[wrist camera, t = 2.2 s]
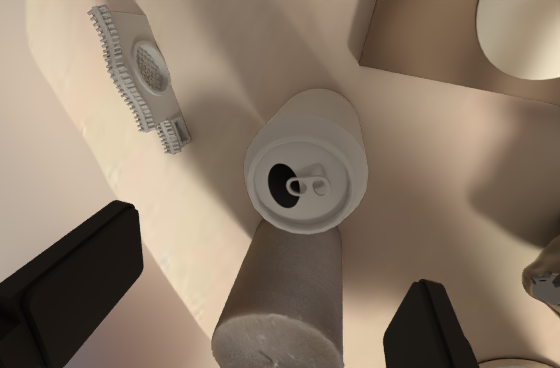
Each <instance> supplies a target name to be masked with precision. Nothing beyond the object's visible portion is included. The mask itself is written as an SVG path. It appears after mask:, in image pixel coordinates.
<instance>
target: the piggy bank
mask: <svg viewBox="0 0 560 368" xmlns="http://www.w3.org/2000/svg"><path fill="white" fill-rule="evenodd" d="M559 220H560V217H559ZM522 284H523V287H524V289H525V291H526V292H527V293H528V294H529V295H530V296H531V297H533V298H535V299H537V300H539V301H541V302H543V303H544V304H545V305H547V306H548V307H549V308H550V309H551V310H552V311H553V312H554V313H555V315H556V316H557V317H558V318H560V235H558V236H557V237H556V238H554V239H553V240H552V241H551V242H550V243H549V244H548V245H547V246H546V247H545V248H544V249H543V250H542V251H541V253H540V254H539V255H538V257H537V258H536V260H535V261H534V262H532V263H531V264H529V265H528V266H526V267H525V268H524V270H523V272H522Z"/></svg>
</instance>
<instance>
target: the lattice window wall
mask: <svg viewBox="0 0 560 368" xmlns="http://www.w3.org/2000/svg"><path fill="white" fill-rule="evenodd" d="M87 14H88V15H90V14H92V15H93V17H92V18H91V21H93V20H95V21H96V23H95V24H93V25H94V26H97V25H98V27H99V28H97V29H96V31H100V32H101V34H99V36H100V37H101V36H102V37H103V39H102V40H100V42H104V43H105V44H104V45H102V47H103V48H104V47H106V50H103V52H104V53H105V52H107V54H106V55H103V57H104V58H105V57H107V59H105V61H106V62H108V65H107V66H106V67H107V68H109V70H108V71H107V72H110V73H111V78H112V79H113V80H114V82H113V83H114V84H116V85H117V87H116V88H117V89H119V90H120V91H118V92H119V93H123V95H121V97H126V98H127V99H125V100H124V101H125V102H127V101H129V102H130V103H128V104H127V105H128V106H129V105H131V106H132V108H130V110H134V112H133V114H136V115H137V116H135V117H134V118H135V119H136V118H138V120H137V121H136V123H137V122H139V123H140V125H138V126H137V127H141V129H140V130H139V132H140V131H142V132H150V131H152V130H156V131H160V133H157V134H158V135H160V134H161V136H160V138H163V140H161V142H165V144H162V145H163V146H164V145H165V146H166V148H164V150H166V149H167V152H165V153H168V154H176V153H177V152H181V148H182V147H183V146H185V145H186V144H188V143H189V142H191V139H190V136H189V133H188V130H187V128H186V125H185V122H184V119H183V117H182V114H181V111H180V108H179V105H178V103H177V100H176V97H175V94H174V92H173V89H172V86H171V80H170V73H169V71H168V68H167V65H166V62H165V60H164V58H163V56H162V54H161V53H160V51H159V50H158V48H157V45H156V42H155V40H154V37H153V34H152V31H151V29H150V26H149V23H148V20H147V18H146V15H139V14H131V13H123V12H115V11H109V9H108V7H107V5H103V6H99V7H98V6H94V7H92V10H90V11H89V12H88V13H87ZM138 53H139V54H138ZM137 55H138V56H139V59H137ZM141 58H142V61H140V60H141ZM144 60H145V61H146V63H145V64H144ZM137 61H139V62H138V64H137ZM140 63H141V64H142V67H141V66H140ZM147 64H148V66H147ZM144 66H145V69H144V68H143V67H144ZM140 68H141V69H142V70H141V71H140ZM147 68H149V72H148V71H147ZM143 70H144V71H145V74H144V73H143ZM147 73H148V74H149V76H147ZM151 73H152V74H151ZM143 75H144V76H145V79H144V78H143ZM151 76H153V79H152V78H151ZM147 78H149V81H147ZM150 80H152V81H153V84H152V83H150ZM147 83H149V85H148V84H147ZM150 84H151V85H152V88H151V87H150ZM157 127H158V128H159V129H157Z"/></svg>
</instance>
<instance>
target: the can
mask: <svg viewBox="0 0 560 368" xmlns="http://www.w3.org/2000/svg"><path fill="white" fill-rule="evenodd" d="M243 168H244V177H245V184H246V186H247V192H248V195H249V197H250V199H251V201H252V204H253V206H254V208H255V209H256V210H257V211H258V212H259V213H260V214H261V216H262V217H263V218H264V219H265V220H267V221H268V222H270V223H271V224H273V225H274V226H276V227H277V228H280V229H283V230H286V231H289V232H291V233H299V234H313V233H319V232H324V231H327V230H329V229H331V228H333V227H335V226H336V225H338V224H340V223H341V222H342V221H343V220H344V219H345V218H346V217H347V216H348V215H349V214H350V213H351V212H352V211H353V210H354V209H355V208H357V207H358V206H359V204H360V202H361V200H362V198H363V196H364V194H365V192H366V190H367V182H368V172H369V170H368V164H367V159H366V154H365V148H364V143H363V137H362V132H361V127H360V123H359V119H358V115H357V112H356V111H355V109H354V108H353V106H352V105H351V103H350V102H349V101H348V100H347V99H345V98H344V97H343V96H341V95H340V94H339V93H337V92H333V91H330V90H327V89H308V90H305V91H303V92H300V93H297V94H296V95H294V96H293V97H292V98H291V99H289V100H288V101H287V102H286V103H285V104H284V105H283V106H282V107H281V108H280V109H279V110H278V111H277V112H276V113H275V115H274V116H273V117H272V118H271V119H270V120H269V121H268V122H267V123H266V124H265V125H264V126H263V127H262V129H261V130H260V131H259V132H258V133H257V134H256V136H255V137H254V139H253V140H252V142H251V144H250V145H249V147H248V148H247V152H246V156H245V160H244V165H243Z"/></svg>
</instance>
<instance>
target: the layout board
mask: <svg viewBox="0 0 560 368" xmlns="http://www.w3.org/2000/svg"><path fill="white" fill-rule="evenodd" d="M359 65H360V66H365V67H370V68H375V69H380V70H385V71H390V72H395V73H400V74H405V75H410V76H415V77H420V78H425V79H430V80H435V81H440V82H445V83H450V84H455V85H460V86H465V87H470V88H475V89H480V90H485V91H491V92H496V93H501V94H506V95H511V96H516V97H521V98H526V99H531V100H536V101H541V102H546V103H551V104H556V105H560V0H376V4H375V7H374V11H373V15H372V18H371V22H370V25H369V29H368V33H367V36H366V40H365V43H364V47H363V50H362V54H361V58H360V61H359Z"/></svg>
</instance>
